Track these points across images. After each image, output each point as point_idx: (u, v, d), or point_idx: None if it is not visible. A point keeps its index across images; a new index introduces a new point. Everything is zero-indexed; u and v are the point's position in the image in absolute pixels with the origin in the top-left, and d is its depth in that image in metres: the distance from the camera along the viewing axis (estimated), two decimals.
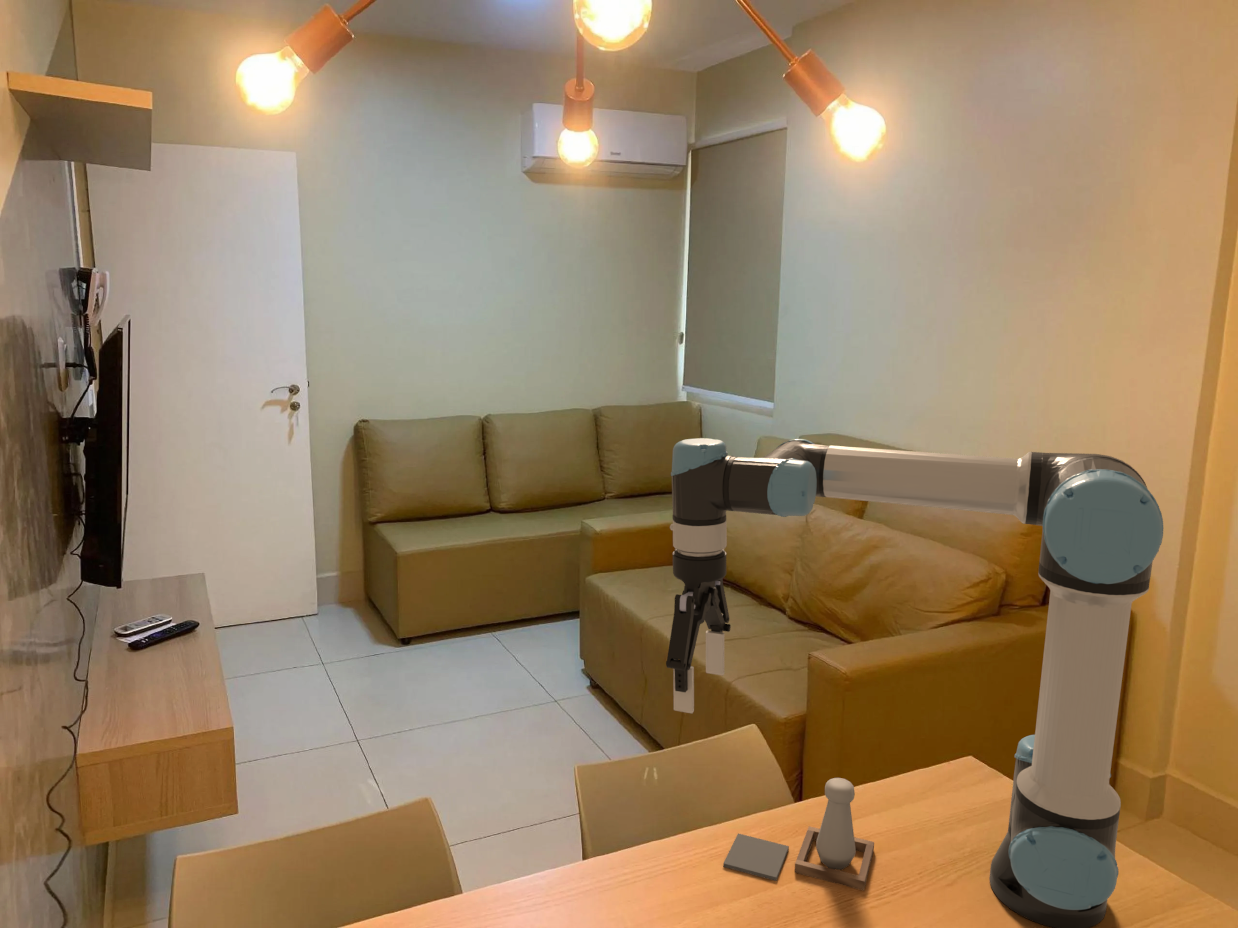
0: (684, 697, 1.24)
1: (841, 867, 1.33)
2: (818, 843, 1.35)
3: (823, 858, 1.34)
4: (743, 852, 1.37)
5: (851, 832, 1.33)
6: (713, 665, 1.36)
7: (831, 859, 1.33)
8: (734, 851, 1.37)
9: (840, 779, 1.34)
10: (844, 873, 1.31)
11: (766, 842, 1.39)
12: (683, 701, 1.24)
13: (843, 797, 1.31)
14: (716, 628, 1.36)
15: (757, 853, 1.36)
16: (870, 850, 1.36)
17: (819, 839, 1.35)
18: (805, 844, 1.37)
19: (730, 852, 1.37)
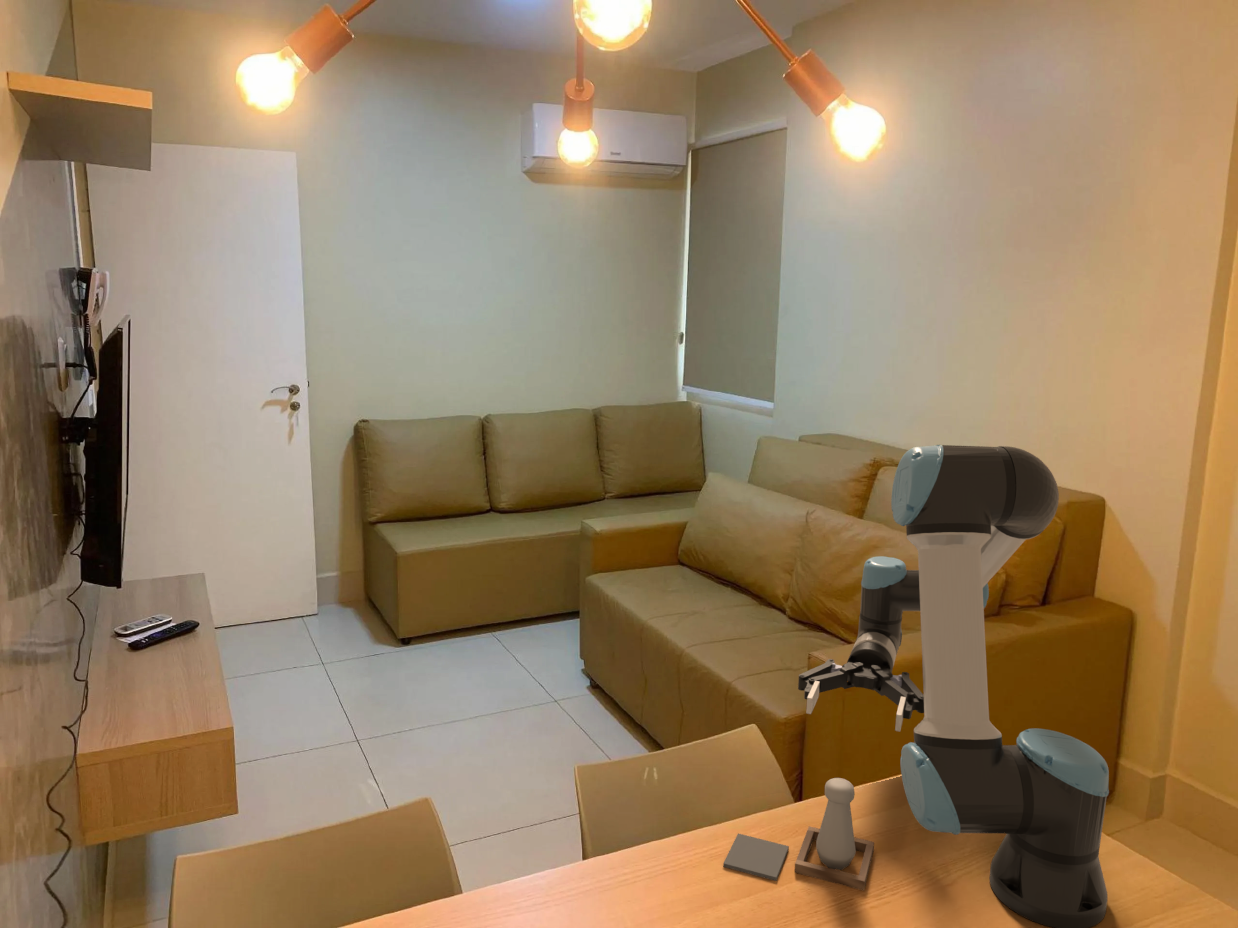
0: None
1: (841, 867, 1.33)
2: (818, 843, 1.35)
3: (823, 858, 1.34)
4: (743, 852, 1.37)
5: (851, 833, 1.33)
6: None
7: (831, 859, 1.33)
8: (734, 851, 1.37)
9: (840, 779, 1.34)
10: (844, 873, 1.31)
11: (766, 842, 1.39)
12: None
13: (842, 797, 1.31)
14: None
15: (757, 853, 1.36)
16: (870, 850, 1.36)
17: (819, 839, 1.35)
18: (805, 844, 1.37)
19: (730, 852, 1.37)
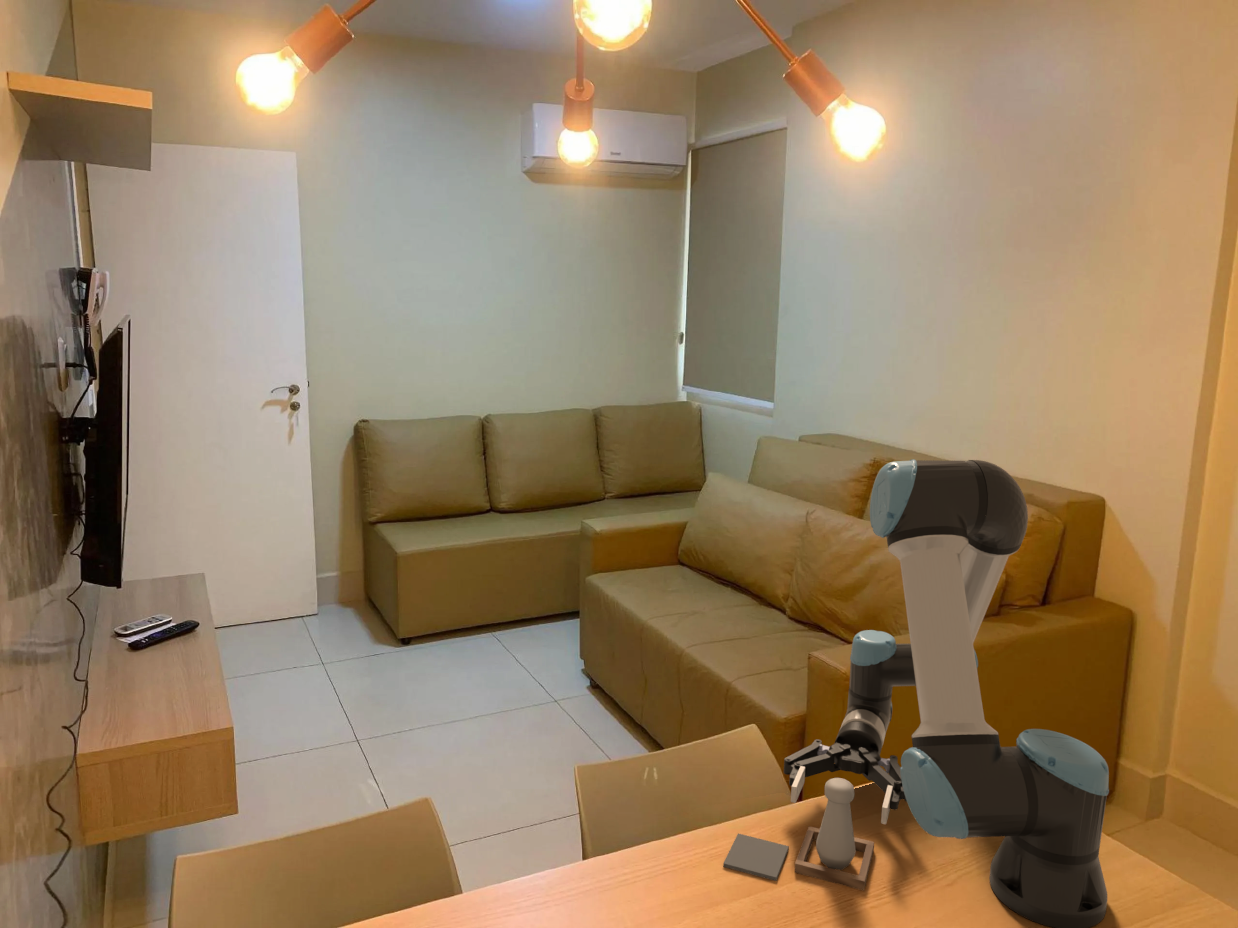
0: None
1: (841, 867, 1.33)
2: (818, 843, 1.35)
3: (823, 858, 1.34)
4: (743, 852, 1.37)
5: (851, 832, 1.33)
6: None
7: (831, 859, 1.33)
8: (734, 851, 1.37)
9: (840, 779, 1.34)
10: (844, 873, 1.31)
11: (766, 842, 1.39)
12: None
13: (842, 797, 1.31)
14: None
15: (757, 853, 1.36)
16: (870, 850, 1.36)
17: (819, 839, 1.35)
18: (805, 844, 1.37)
19: (730, 852, 1.37)
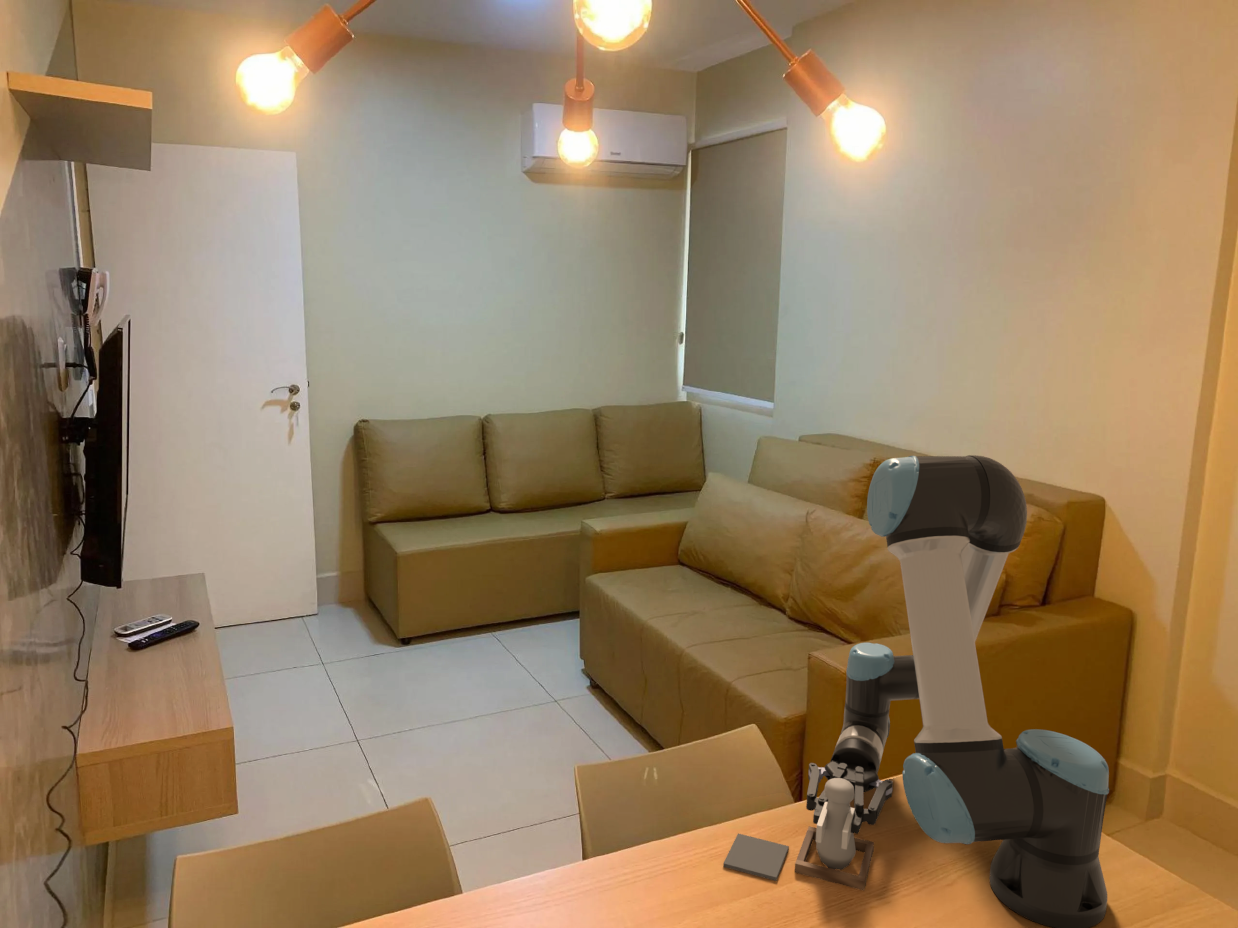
0: None
1: (841, 867, 1.33)
2: (818, 843, 1.35)
3: (823, 858, 1.34)
4: (743, 852, 1.37)
5: None
6: None
7: (831, 859, 1.33)
8: (734, 851, 1.37)
9: (840, 779, 1.34)
10: (844, 873, 1.31)
11: (766, 842, 1.39)
12: None
13: (842, 797, 1.31)
14: None
15: (757, 853, 1.36)
16: (870, 850, 1.36)
17: None
18: (805, 844, 1.37)
19: (730, 852, 1.37)
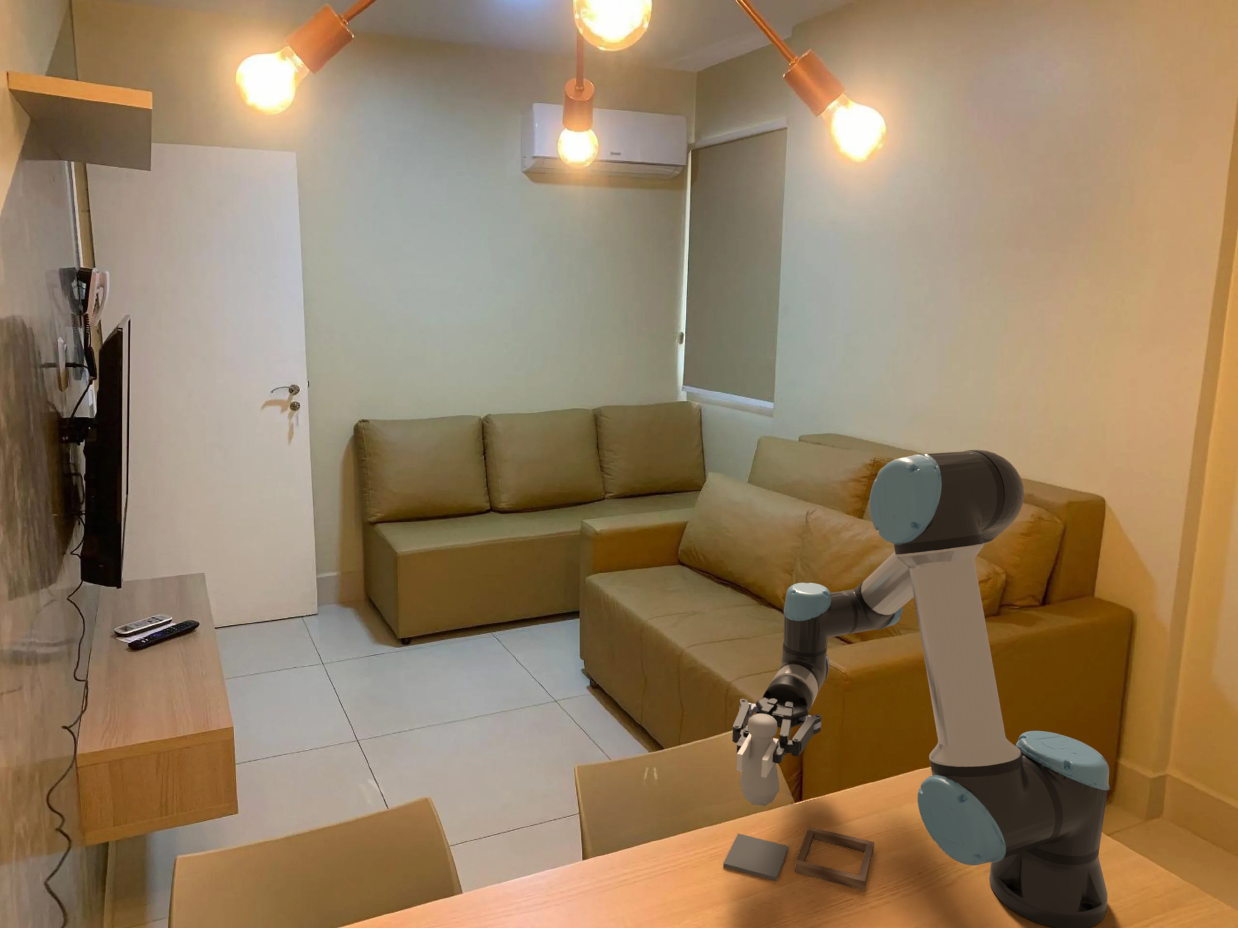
0: None
1: (764, 803, 1.33)
2: (742, 779, 1.34)
3: (746, 794, 1.33)
4: (743, 852, 1.37)
5: (774, 768, 1.32)
6: None
7: (754, 795, 1.32)
8: (734, 851, 1.37)
9: (763, 715, 1.33)
10: (844, 873, 1.31)
11: (766, 842, 1.39)
12: None
13: (764, 731, 1.30)
14: None
15: (757, 853, 1.36)
16: (870, 850, 1.36)
17: (742, 775, 1.34)
18: (805, 844, 1.37)
19: (730, 852, 1.37)
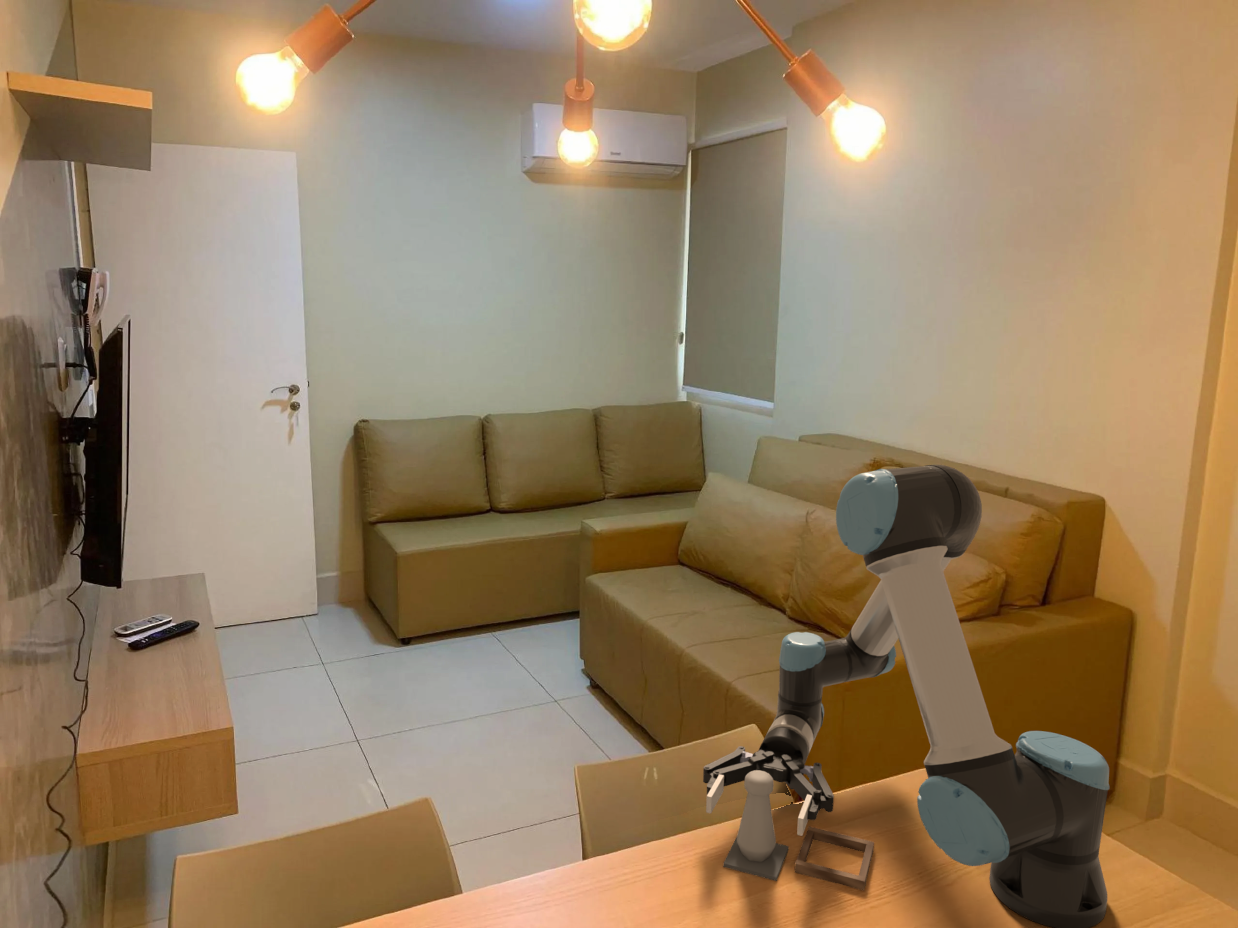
0: None
1: (761, 859, 1.34)
2: (738, 835, 1.35)
3: (743, 850, 1.35)
4: None
5: (770, 824, 1.34)
6: None
7: (751, 851, 1.33)
8: (734, 851, 1.37)
9: (760, 771, 1.35)
10: (844, 873, 1.31)
11: None
12: None
13: (761, 789, 1.32)
14: None
15: None
16: (870, 850, 1.36)
17: (739, 831, 1.35)
18: (805, 844, 1.37)
19: (730, 852, 1.37)
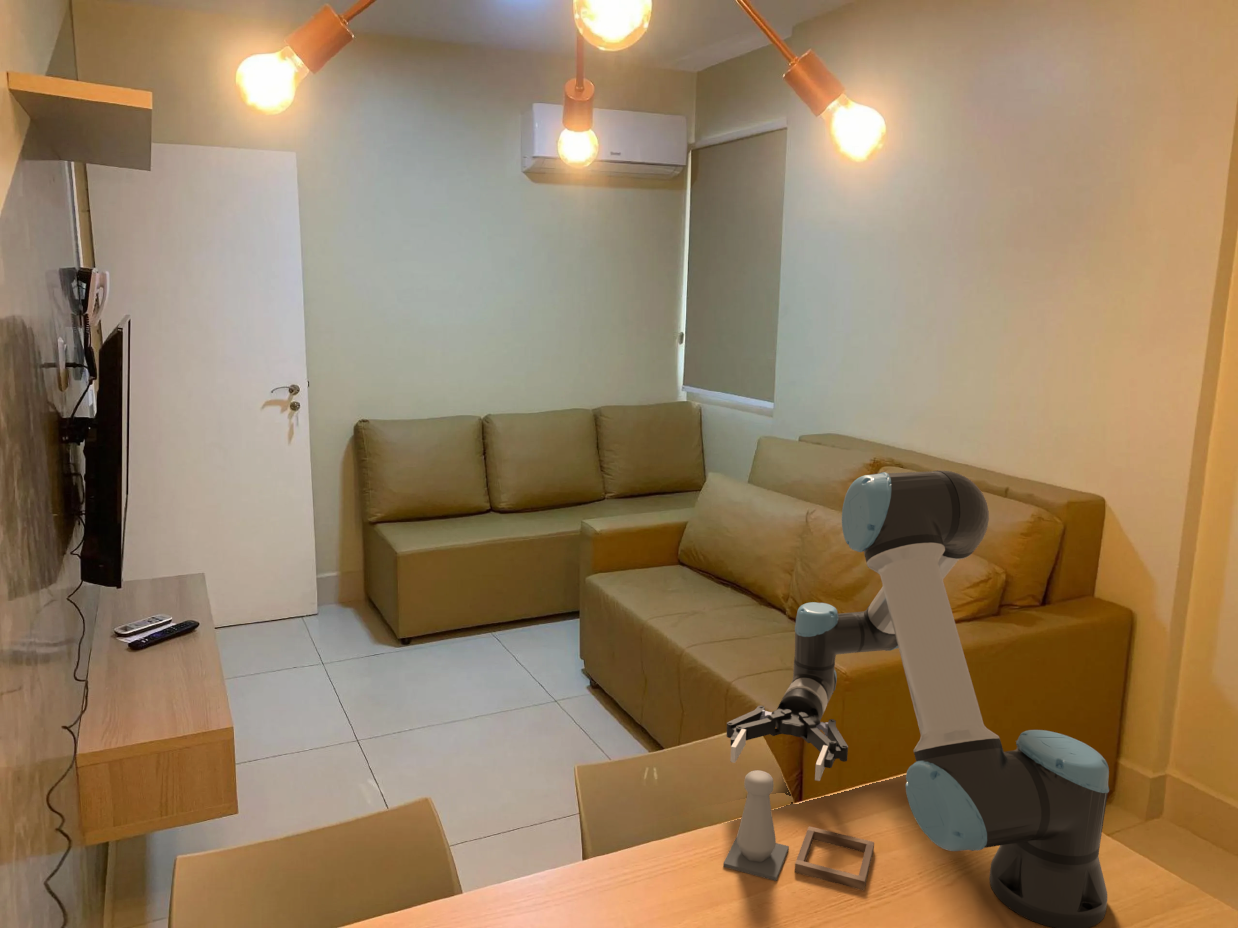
0: None
1: (761, 859, 1.34)
2: (738, 836, 1.35)
3: (743, 850, 1.35)
4: None
5: (770, 824, 1.34)
6: None
7: (751, 851, 1.33)
8: (734, 851, 1.37)
9: (759, 771, 1.35)
10: (844, 873, 1.31)
11: None
12: None
13: (761, 789, 1.32)
14: None
15: None
16: (870, 850, 1.36)
17: (739, 832, 1.35)
18: (805, 844, 1.37)
19: (730, 852, 1.37)
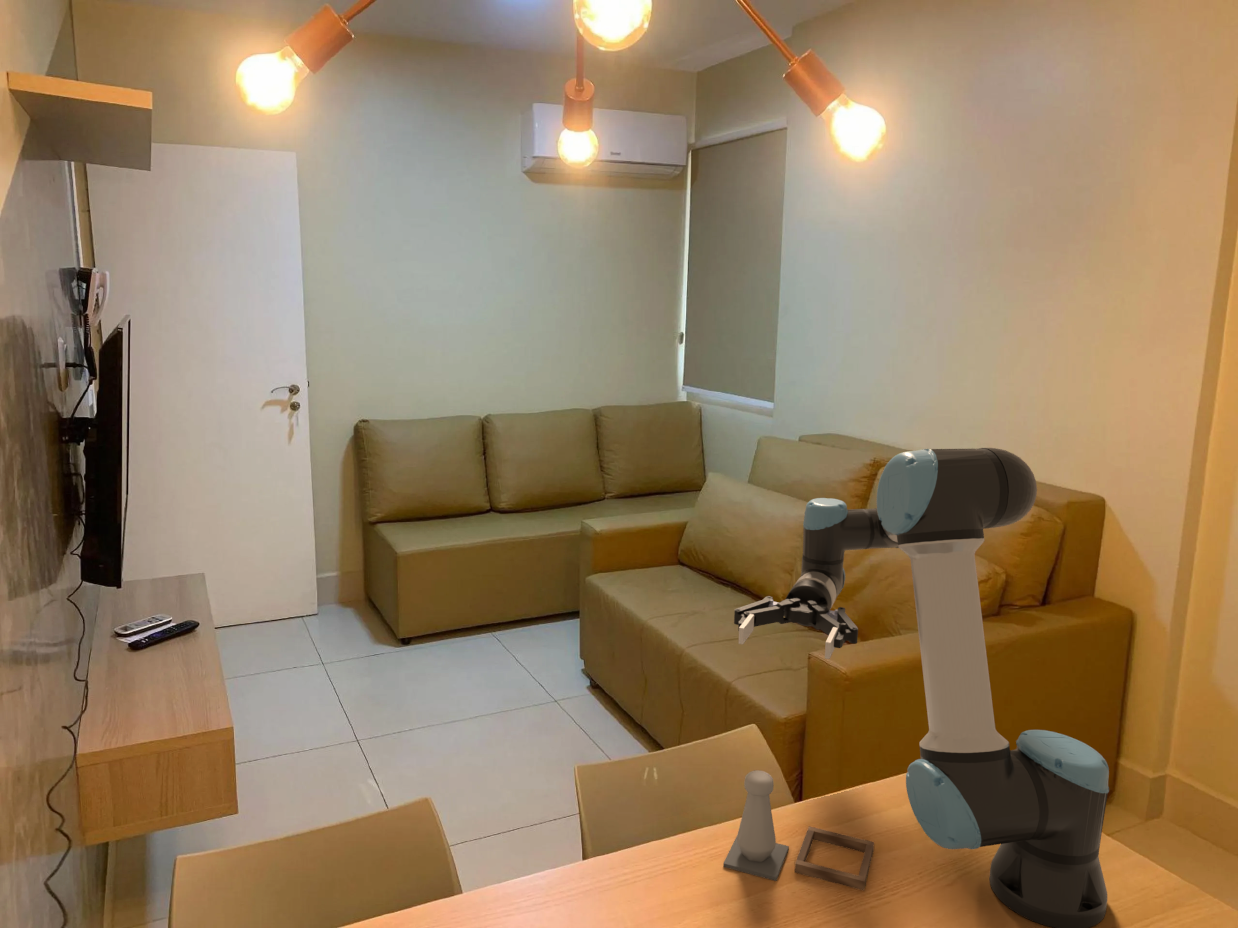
0: None
1: (761, 859, 1.34)
2: (738, 836, 1.35)
3: (743, 850, 1.35)
4: None
5: (770, 824, 1.34)
6: None
7: (751, 851, 1.33)
8: (734, 851, 1.37)
9: (759, 771, 1.35)
10: (844, 873, 1.31)
11: None
12: None
13: (761, 789, 1.32)
14: None
15: None
16: (870, 850, 1.36)
17: (739, 832, 1.35)
18: (805, 844, 1.37)
19: (730, 852, 1.37)
